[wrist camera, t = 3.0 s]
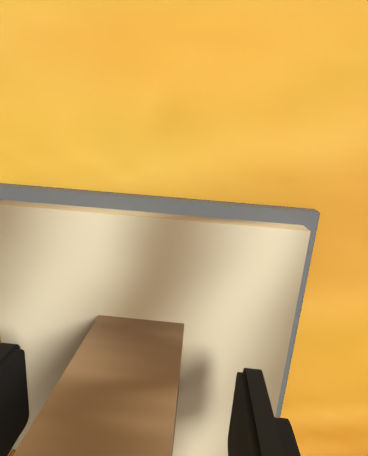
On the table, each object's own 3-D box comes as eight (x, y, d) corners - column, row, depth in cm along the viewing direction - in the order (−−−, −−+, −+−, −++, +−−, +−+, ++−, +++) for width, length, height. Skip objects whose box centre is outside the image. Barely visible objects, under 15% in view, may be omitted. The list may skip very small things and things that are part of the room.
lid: (302, 225, 11) (454, 346, 4) (260, 460, 14) (311, 746, 7) (1, 199, 11) (-277, 275, 5) (22, 432, 14) (-133, 679, 8)
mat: (313, 209, 11) (319, 212, 11) (266, 457, 14) (269, 470, 14) (-2, 183, 12) (-13, 185, 11) (20, 428, 15) (12, 439, 14)
